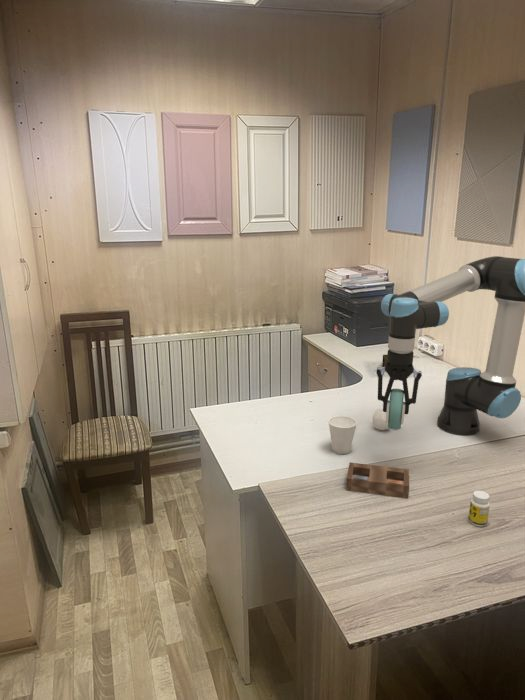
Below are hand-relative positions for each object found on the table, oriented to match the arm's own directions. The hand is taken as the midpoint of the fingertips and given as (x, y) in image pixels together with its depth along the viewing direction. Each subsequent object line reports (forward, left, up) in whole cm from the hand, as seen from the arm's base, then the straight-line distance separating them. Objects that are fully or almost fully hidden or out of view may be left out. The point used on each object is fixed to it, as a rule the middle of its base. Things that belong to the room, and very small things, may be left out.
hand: (394, 422), depth 160 cm
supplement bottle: (-23, +22, -17) cm, 36 cm away
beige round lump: (+4, -31, -17) cm, 36 cm away
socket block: (+4, +10, -17) cm, 20 cm away
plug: (0, 0, -2) cm, 2 cm away
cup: (+17, -10, -17) cm, 26 cm away
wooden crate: (+2, -104, -18) cm, 106 cm away
